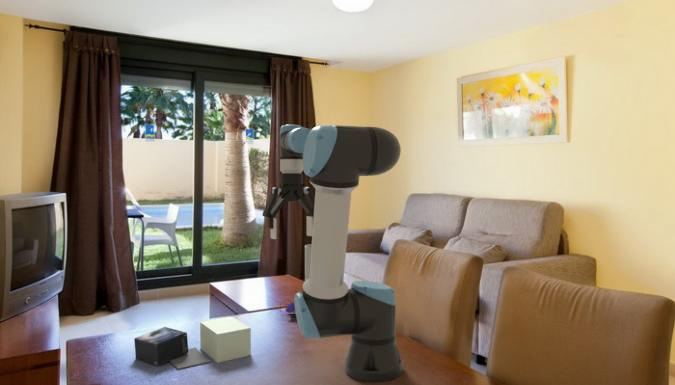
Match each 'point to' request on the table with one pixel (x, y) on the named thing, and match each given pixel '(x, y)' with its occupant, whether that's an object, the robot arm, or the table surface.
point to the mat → (190, 359)
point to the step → (225, 339)
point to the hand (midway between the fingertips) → (292, 237)
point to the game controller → (290, 307)
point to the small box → (161, 346)
